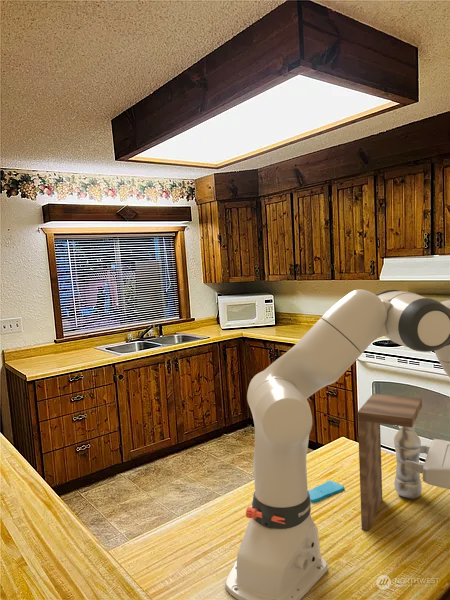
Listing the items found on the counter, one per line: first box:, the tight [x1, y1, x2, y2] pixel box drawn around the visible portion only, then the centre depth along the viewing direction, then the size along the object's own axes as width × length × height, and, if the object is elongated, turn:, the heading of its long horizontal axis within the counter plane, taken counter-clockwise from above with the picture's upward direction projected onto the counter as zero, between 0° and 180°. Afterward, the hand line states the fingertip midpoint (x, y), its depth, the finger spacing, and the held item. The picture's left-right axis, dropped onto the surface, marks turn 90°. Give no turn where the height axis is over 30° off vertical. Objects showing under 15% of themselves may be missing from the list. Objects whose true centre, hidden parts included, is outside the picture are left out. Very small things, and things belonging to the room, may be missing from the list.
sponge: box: [308, 480, 345, 504], centre depth 122 cm, size 2×12×6 cm
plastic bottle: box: [393, 423, 423, 499], centre depth 117 cm, size 6×7×20 cm
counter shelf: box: [357, 393, 423, 532], centre depth 107 cm, size 15×12×28 cm
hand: (408, 455), depth 117 cm, fingers open, 8 cm apart
